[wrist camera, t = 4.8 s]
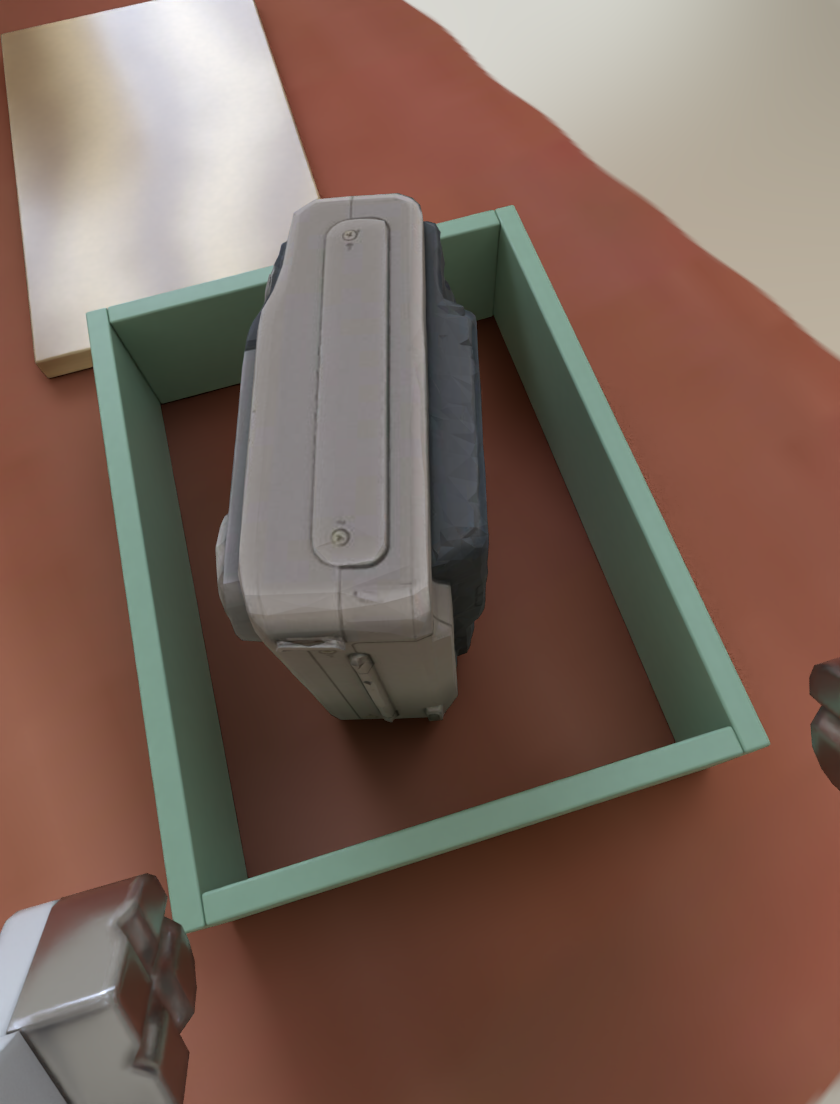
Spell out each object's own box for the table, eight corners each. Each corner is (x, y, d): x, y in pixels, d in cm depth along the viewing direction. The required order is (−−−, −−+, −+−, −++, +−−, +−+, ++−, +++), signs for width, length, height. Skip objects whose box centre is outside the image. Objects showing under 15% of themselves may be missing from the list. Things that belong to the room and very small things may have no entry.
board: (47, 379, 28) (34, 363, 27) (11, 54, 36) (-1, 33, 35) (352, 300, 29) (348, 282, 28) (252, 0, 36) (247, -22, 36)
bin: (230, 921, 20) (174, 936, 16) (139, 394, 27) (84, 312, 23) (710, 767, 21) (772, 744, 17) (504, 298, 29) (513, 203, 24)
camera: (317, 413, 27) (248, 178, 18) (475, 413, 27) (488, 173, 17) (289, 731, 22) (177, 639, 13) (478, 733, 22) (500, 641, 13)
